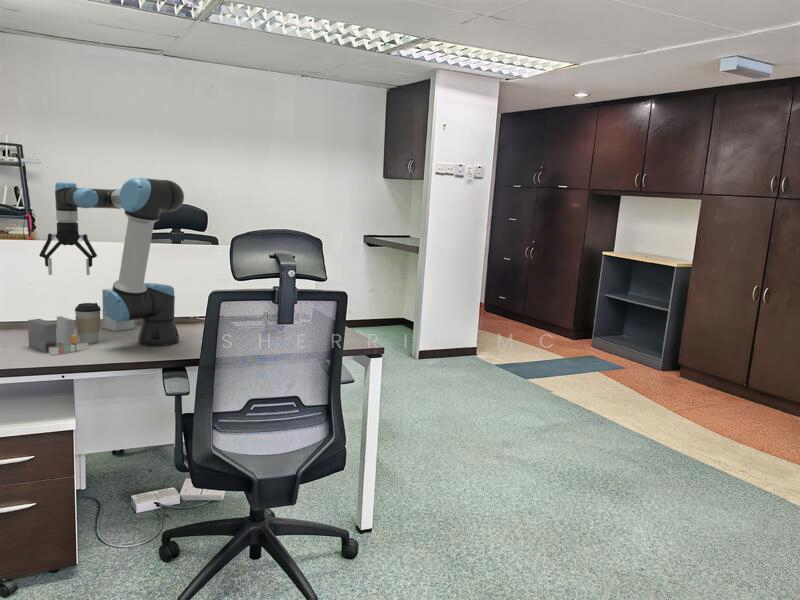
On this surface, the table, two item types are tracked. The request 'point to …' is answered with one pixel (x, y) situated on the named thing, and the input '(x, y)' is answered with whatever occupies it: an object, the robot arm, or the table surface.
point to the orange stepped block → (73, 339)
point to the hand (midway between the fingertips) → (69, 274)
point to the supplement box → (112, 324)
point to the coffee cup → (88, 322)
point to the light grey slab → (65, 330)
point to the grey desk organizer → (49, 338)
